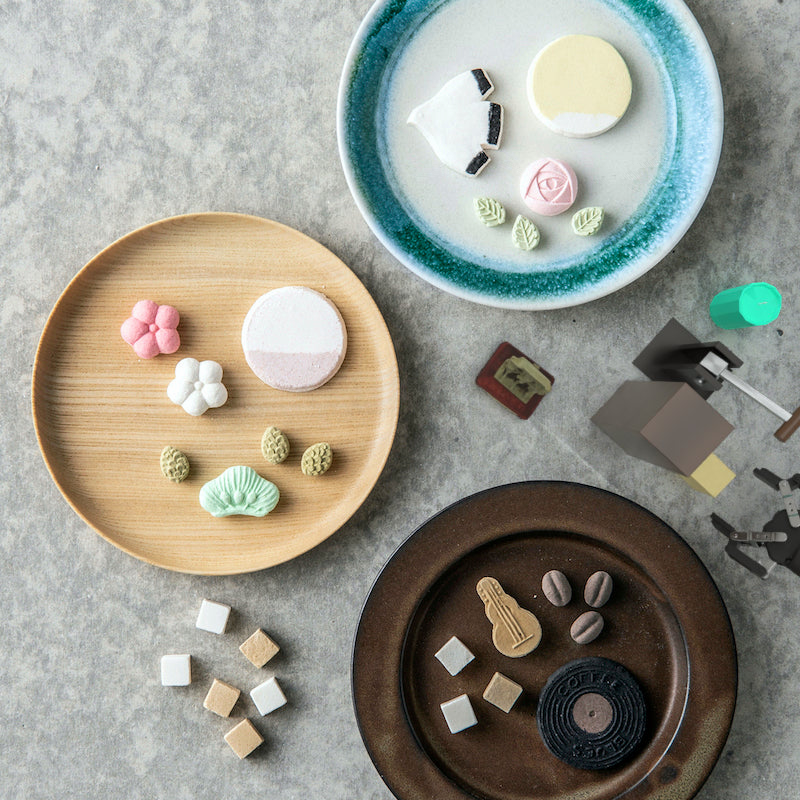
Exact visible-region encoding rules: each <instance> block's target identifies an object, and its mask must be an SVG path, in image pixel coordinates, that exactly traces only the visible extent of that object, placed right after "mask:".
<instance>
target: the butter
mask: <svg viewBox="0 0 800 800" xmlns="http://www.w3.org/2000/svg"><path fill="white" fill-rule="evenodd" d="M677 475H678V476H679V477H680V478H681V479H683V480H684V482H686V483H687V484H688V486H690V487H691V488H692V489H693V490H695V491H697V492H700V493H702V494H704V495H707V496H709V497H711V498H714V499H715V498H717V496H719V494H721V492H722V491H723V490H724V489H725V488H726V487H727V486H728V485H729V484H730V483H731V482H732V481H733V480H734V479H735V477H736V476H737V474H736V473H735V472H734V471H732V469H730V467H729V466H728V465H726V464H725V463H724V462H723V461H722V460H721V459H720V458H719V457H717V456H716V455H715V454H714V453H713V452H712V453H711V454H710V455H709V456H708V457H707V458H706V460H705V461H704V462H703V463H702V464H701V465H700V466H699V467H698V468H697V469H696V470H695V471H694V472H693V473H692V474H691V475H690V476H689V477H685V476H683V475H680V474H677Z"/></svg>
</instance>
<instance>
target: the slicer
mask: <svg viewBox="0 0 800 800" xmlns="http://www.w3.org/2000/svg"><path fill="white" fill-rule="evenodd" d="M710 351H711V352H712V353H714V354H715V355H717V356H718V357H720V358H721V359H722V360H724V361H725V362H727V363H728V366H727V370H728V371H730V372H731V373H732V372H734V370H733V369H740V368H741V367H742V366H743V365H744V364H745V362H744V361H742V359H740V358H739V357H738V355H736V354H735V353H734V351H733V350H732V349H731V348H730V347H729V346H726V344H724V343H723V342H722V341H721V340H715V341H714V340H713V341H704V342H702V341H700V339H698V338H697V337H696V336H695V335H694V334H692V332H691V331H689V330H688V329H687V328H686V327H684V325H682V323H680V321H678V320H677V319H676V318H675V317H671V318H670V319H669V321H668V322H667V323H666V324H665V325H664V326H663V327H662V329H660V331H659V332H658V333H657V334H656V335H655V336H654V337H653V338H652V339H651V341H650V342H649V343H648V344H647V345H646V346H645V347H644V349H643V350H642V351H641V352H640V353H639V354H638V355H637V356H636V357H635V359H634V360H632V362H631V364H633V365H634V366H635V367H636V368H637V369H638V370H640V372H642V374H644V375H645V376H646V377H647V378H648V379H649V380H650V381H662V382H686V383H687V384H688V385H689V386H690V387H691V388H692V389H693V390H695V391H696V392H697V393H698V394H699V395H700V396H701V397H702V398H703V399H704V400H705V401H706V402H707V400H708V399H709V398H711V396H712V395H713V393H714V392H719V391H720V390H722V388H723V387H724V384H723V383H724V382H725V380H724V379H722V378H721V377H719V378H718V379H716V378H714V377H713V376H712V375H711V374H710V373H709V372H708V371H707V370H705V369H704V368H703V367H702V366H701V365H700V362H701V361H702V360H703V359H704V358H705V357H706V356H707V354H708V353H709V352H710Z"/></svg>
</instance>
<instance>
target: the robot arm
mask: <svg viewBox="0 0 800 800" xmlns="http://www.w3.org/2000/svg"><path fill="white" fill-rule="evenodd" d="M752 474H753V475H754V477H755V478H756V479H758V480H760V481H761V482H763V483H764V484H766V485H767V486H768V487H770V488H771V489H773V490H774V491H775V492H780V493H781V497H782V500H783V503H784V506H785V508H783V509H781V510H779V509H778V510H777V511H776V512H775V513H774V515H772V518H771V519H770V520H769V521H767V522H766V523H764V525H763V526H762V530H761V531H752V530H750V531H737V529H736V528H735V527H734V526H732V524H730V523H729V522H727V521H726V520H725V519H723V518H722V517H720V515H718V514H717V513H715V512H713V511H712V513H710V515H709V518H710V519H711V520H710V523H711V525H712V526H713V527H714V529H716V530H717V531H718V532H720V534H722V535H723V536H724V537H726V538H727V539H728V541H727V544H725V546H724V551H725V552H726V554H727V556H728V557H729V558H730V559H732V561H735V562H736V563H737V564H739V565H740V566H742V567H743V568H745V569H746V570H747V571H749V572H750V573H752V574H753V575H754V576H756V577H757V578H758V579H760V580H762V581H768V580H769V579H770V575H771V573H772V571H773V570H774V569H775V568H776V567H777V566H782V567H784V568H786V569H787V570H789V571H790V572H792V573H793V574H794V575H795V576H797V577H798V578H800V509H798V506H797V503H796V500H795V497H794V494H793V492H794V491H795V490H800V473H799V472H796V473H794V474H793V475H792V476H791V477H789V478H785V479H784V478H781V477H780V476H778V475H777V474H776V473H774V472H773V471H771V470H770V469H769V468H767V467H760V468H759V467H755V468H754V469H753V470H752ZM741 547H751V548H754V549H763V550H764V549H766V552H767V556H768V559H763V558H756V559H754V558H752V557H751V556H749V555H747V554H746V553H744V552H743V551H741V550H740V548H741Z"/></svg>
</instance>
